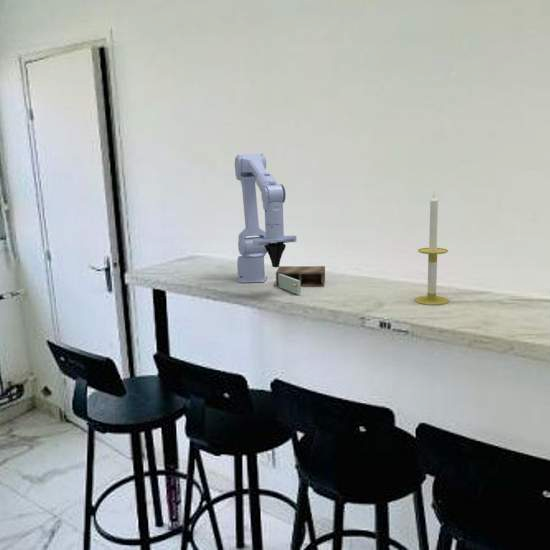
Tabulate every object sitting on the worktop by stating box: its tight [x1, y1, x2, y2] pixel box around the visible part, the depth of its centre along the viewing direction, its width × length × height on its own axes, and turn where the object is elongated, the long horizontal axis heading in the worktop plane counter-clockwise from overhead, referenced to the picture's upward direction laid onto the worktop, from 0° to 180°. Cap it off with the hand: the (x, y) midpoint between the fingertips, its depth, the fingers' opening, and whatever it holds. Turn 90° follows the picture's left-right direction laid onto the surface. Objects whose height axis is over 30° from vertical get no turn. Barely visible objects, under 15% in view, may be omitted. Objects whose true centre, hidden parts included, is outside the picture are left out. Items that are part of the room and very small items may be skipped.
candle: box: [414, 191, 450, 306], centre depth 176 cm, size 10×10×32 cm
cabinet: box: [275, 265, 326, 288], centre depth 207 cm, size 16×10×5 cm, turn 83°
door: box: [278, 274, 302, 296], centre depth 196 cm, size 13×2×4 cm, turn 28°
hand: (275, 266), depth 190 cm, fingers closed
